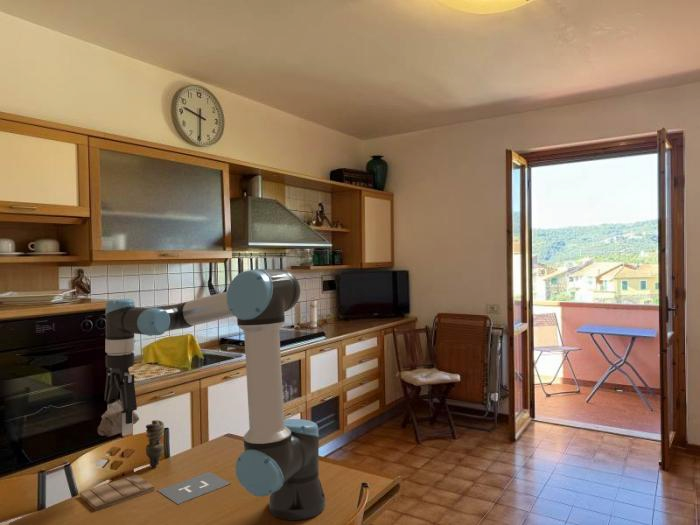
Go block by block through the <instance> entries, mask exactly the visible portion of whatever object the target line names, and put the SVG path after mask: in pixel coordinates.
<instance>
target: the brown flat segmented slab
mask: <svg viewBox="0 0 700 525" xmlns="http://www.w3.org/2000/svg"><path fill="white" fill-rule="evenodd" d="M154 491H155V486H154V485H153V484H151V483H150V482H148V481H146V479H144V478H142V477H141V476H139V475H138V474H133V475H130V476H126V477H124V478H121V479H118V480H115V481H112V482H109V483H105V484H102V485H99V486H96V487H93V488H90V489H86V490H84V491H81V492H79V497H80V496H81V497H82V498H83V499H84V500H85V501H86V502H85V501H84V500H83V499H82V498H81V497H80V498H81V499H82V500H83V501H84V502H85V503H87V504H88V505H89V506H90V507H91V508H92V509H93V510H94V511H95V512H98V511H101V510H103V509H105V508H108V507H112V506H115V505H118V504H120V503H123V502H126V501H128V500H132V499H134V498H137V497H140V496H143V495H145V494H147V493H148V494H149V493H151V492H154Z"/></svg>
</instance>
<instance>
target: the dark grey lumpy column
mask: <svg viewBox="0 0 700 525" xmlns="http://www.w3.org/2000/svg"><path fill="white" fill-rule="evenodd" d="M145 428H146V431H145V432H146V438H148V439H147V440H148V444H146V446H145V454H146V456H147V458H148V459H149V466H150V467H151V468H155V466H156V467H157V465H160V457H161V456H162V455H163V452H164V443H163V442H161V439H162V438H163V436H164V434H165V433H164V431H165V423H164V422H163V421H162V420H157V419H155V420H152V421H151V424H147V425H146V426H145Z"/></svg>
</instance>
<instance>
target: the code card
mask: <svg viewBox="0 0 700 525" xmlns="http://www.w3.org/2000/svg"><path fill="white" fill-rule="evenodd" d="M230 485H232V483H230V482H229V481H227V480H225V479H223V478H222V477H219V476H218V475H216V474H214V473H213V472H210V471H208V472H206V473H205V472H204V473H203V474H200V475H196V476H193V477H192V478H188V479H186V480H183V481H180V482H178V483H175V484H172V485H169V486H166V487H163V488H160V489H159V490H158V489H157V492H158V493H159V494H161V495H162V496H164V497H166V498H168V499H169V500H170V501H172V502H173V503H175V505H180V504H184V503H186V502H189V501H191V500H193V499H195V498H198V497H201V496H204V495H206V494H209V493H212V492H213V491H216V490H219V489H222V488H224V487H226V486H230Z"/></svg>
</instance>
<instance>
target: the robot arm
mask: <svg viewBox="0 0 700 525" xmlns="http://www.w3.org/2000/svg"><path fill="white" fill-rule="evenodd" d="M300 296H301V285H300V282H299V281H298V278H297V277H296V276H295V275H294V274H293V273H292V272H291V271H288V270H286V269H283V268H282V269H281V268H274V269H267V268H266V269H261V268H260V269H259V268H255V269H250V270H245V271H242V272H239V273H238V274H237V275H235V276H234V278H233V279H232V280H231V282H230V283H229V285H228V288H227V291H224V292H218V293H215V294H212V295H208V296H204V297H201V298H195V299H192V300H189V301H184V302H180V303H176V304H170V305H169V304H167V305H160V306H157V305H156V306H150V307H149V306H148V307H140V306H139V307H137V306H136V305H135V300H133V299H130V298H118V299H117V298H116V299H115V298H114V299H109V300H107V302H106V303H105V313H104V316H105V339H104V340H105V349H104V351H105V353H106V355H105V367H106V378H105V380H106V381H105V387H104V388H105V390H104V398H103V399H104V401H106V403H107V410H108V409H109V407H110V406H111V404H112V403H114V402H116V401H117V400H119V394H120V399H121V400H120V401H122V405H123V411H122V412H121V413H122V432H121V435H122V437H125V436H128V435H132V434H134V424H133V411H134V412H135V411H137V410H138V404H137V396H136V389H135V374H134V373H133V374H130V371H129V370H130V369H129V368H130V367H133V366H134V365H135V353H134V350H135V343H136V339H135V335H145V336H151V337H152V336H161V335H164V334H165V333H166V332H169V331H174V330H175V331H176V330H181V329H189V328H191V327H194V326H197V325H203V324H206V323H211V322H215V321H220V320H224V319H228V318H232V317H233V318H234V317H236V319H237V320H236V322H237V327H238V328H239V329H241V331H243V333H244V335H243V336H244V337H243V338H244V353H245V354H244V355H245V371H246V388H247V390H246V392H247V407H248V425H249V426H248V427H249V429H248V431H246V433H245V434H243V450H244V451H242V452H241V453H240V454H239V456H238V457H237V459H236V462H235V474H236V477H237V480H238V482H239V483H240V485H241V487H243V488H244V489H245V490H246V491H247V493H249V494H251V495H253V496H256V497H262V498H263V497H268V496H269V500H268V502H269V503H268V504H269V506H268V509H269V512H270V513H271V514H272V515H273V516H274V517H277V518H279V519H282V520H287V521H301V520H307V519H310V518H313V517H316V516H318V515H319V514H321V513H322V512H323V511H324V509H325V507H326V496H325V493H324V489H323V486H322V483H321V480H320V476H319V475H320V474H319V466H320V465H319V460H320V459H319V458H320V455H319V453H320V452H319V449H320V447H319V438H320V435H319V427H318V426H319V425H318V424H317V423H316V422H314V421H311V420H308V419H301V418H287V419H285V410H284V390H283V374H282V357H281V340H280V335H281V334H280V330H281V327H282V326H283V325H284V324H285V323H286V321H285V312H288V311H290V310H291V309H293V308H294V307H295V306H296V305H297V303H298V302H299V299H300Z"/></svg>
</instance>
